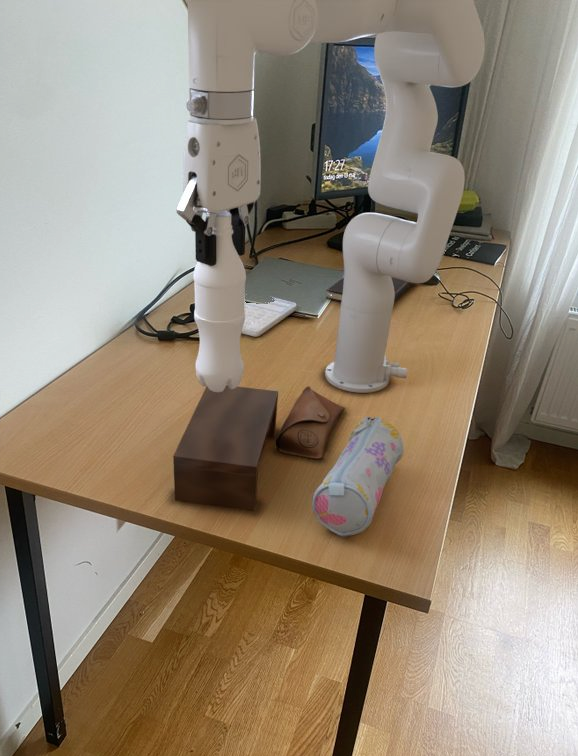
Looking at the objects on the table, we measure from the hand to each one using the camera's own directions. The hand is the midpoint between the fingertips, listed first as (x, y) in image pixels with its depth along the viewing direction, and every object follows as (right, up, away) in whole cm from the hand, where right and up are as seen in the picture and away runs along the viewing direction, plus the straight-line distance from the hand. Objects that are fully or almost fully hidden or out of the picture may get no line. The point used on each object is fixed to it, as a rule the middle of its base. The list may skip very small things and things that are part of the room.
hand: (220, 256), depth 88 cm
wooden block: (+1, -28, +18) cm, 33 cm away
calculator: (+6, +5, +67) cm, 67 cm away
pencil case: (+20, -33, +11) cm, 41 cm away
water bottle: (-1, -16, +11) cm, 20 cm away
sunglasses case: (+15, -22, +27) cm, 38 cm away
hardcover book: (+37, +15, +83) cm, 92 cm away
